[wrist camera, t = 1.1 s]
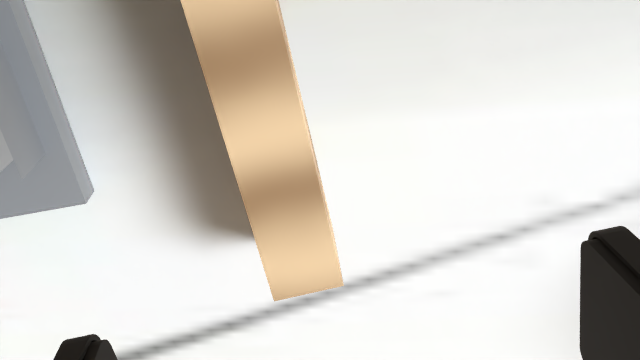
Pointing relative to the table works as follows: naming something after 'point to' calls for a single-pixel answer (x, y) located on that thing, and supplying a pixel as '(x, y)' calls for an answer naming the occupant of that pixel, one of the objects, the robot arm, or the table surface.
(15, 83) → the fulcrum stand
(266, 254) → the tan long bar
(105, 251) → the table surface
